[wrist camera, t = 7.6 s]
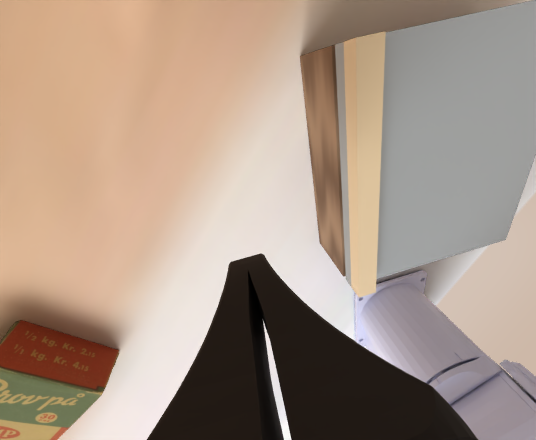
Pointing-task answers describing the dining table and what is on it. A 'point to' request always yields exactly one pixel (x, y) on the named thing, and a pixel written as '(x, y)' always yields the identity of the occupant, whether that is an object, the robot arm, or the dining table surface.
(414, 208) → the lid
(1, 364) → the carton
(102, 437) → the dining table surface
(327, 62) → the box
